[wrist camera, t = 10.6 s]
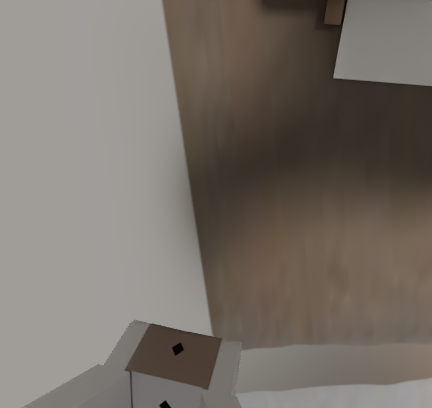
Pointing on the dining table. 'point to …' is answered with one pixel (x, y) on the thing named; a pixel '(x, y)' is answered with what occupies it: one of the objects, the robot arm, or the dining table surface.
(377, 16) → the mat
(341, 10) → the strip
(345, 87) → the dining table surface
